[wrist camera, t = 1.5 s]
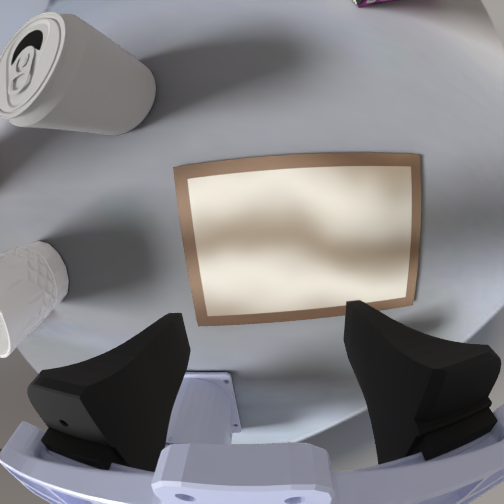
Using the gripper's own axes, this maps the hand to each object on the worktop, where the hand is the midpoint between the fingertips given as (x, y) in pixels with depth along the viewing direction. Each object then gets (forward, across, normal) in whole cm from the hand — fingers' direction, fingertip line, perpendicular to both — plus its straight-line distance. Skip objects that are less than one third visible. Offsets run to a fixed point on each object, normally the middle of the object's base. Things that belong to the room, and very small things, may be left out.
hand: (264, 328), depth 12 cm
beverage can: (+11, +10, -14) cm, 20 cm away
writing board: (+10, -4, -1) cm, 11 cm away
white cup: (+10, +22, 0) cm, 24 cm away
